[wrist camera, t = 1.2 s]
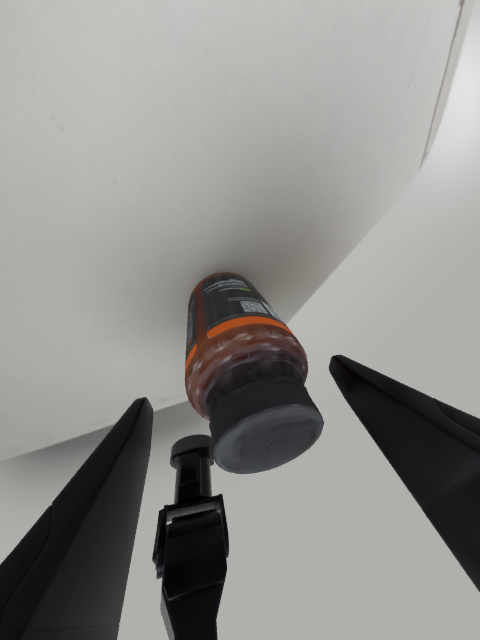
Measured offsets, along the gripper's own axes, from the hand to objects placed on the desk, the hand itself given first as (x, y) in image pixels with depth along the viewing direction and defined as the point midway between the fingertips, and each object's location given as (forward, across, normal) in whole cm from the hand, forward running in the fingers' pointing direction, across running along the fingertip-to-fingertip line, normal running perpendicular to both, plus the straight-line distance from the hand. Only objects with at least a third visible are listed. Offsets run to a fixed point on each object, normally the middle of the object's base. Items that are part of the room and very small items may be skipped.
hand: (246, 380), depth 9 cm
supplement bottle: (+8, 0, 0) cm, 9 cm away
